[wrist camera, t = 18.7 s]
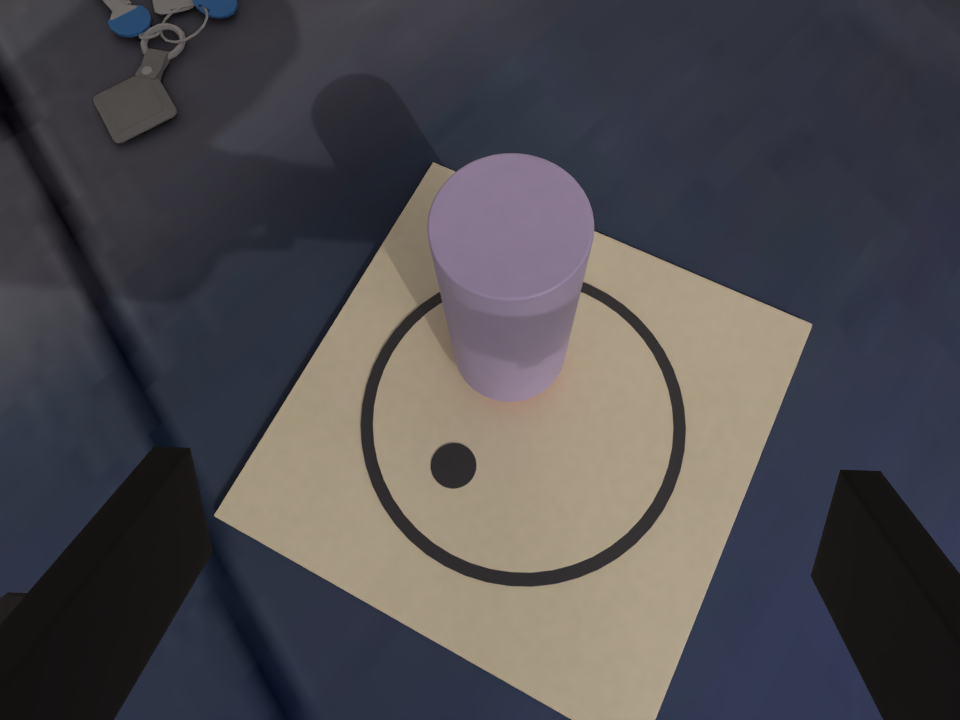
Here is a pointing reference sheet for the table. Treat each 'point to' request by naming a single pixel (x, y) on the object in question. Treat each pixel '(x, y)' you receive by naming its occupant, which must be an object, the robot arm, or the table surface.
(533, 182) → the cylinder
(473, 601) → the beige square board
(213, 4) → the key chain
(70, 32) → the table surface
